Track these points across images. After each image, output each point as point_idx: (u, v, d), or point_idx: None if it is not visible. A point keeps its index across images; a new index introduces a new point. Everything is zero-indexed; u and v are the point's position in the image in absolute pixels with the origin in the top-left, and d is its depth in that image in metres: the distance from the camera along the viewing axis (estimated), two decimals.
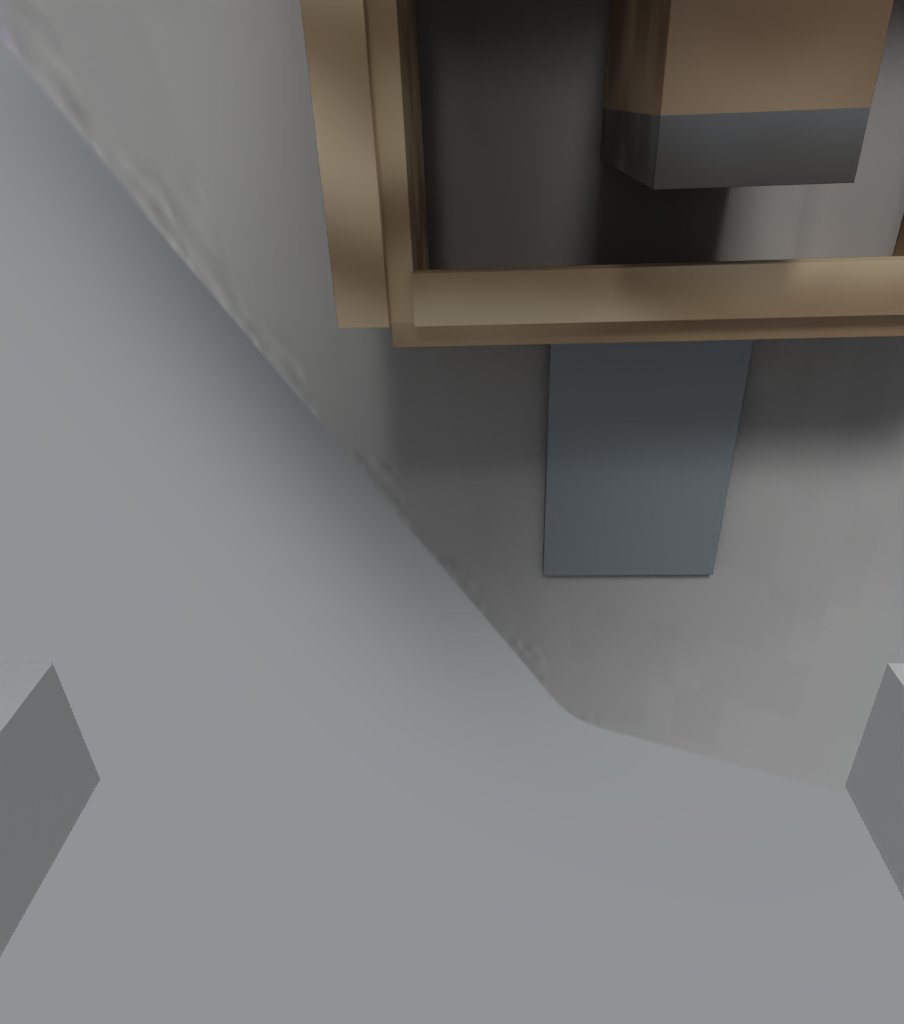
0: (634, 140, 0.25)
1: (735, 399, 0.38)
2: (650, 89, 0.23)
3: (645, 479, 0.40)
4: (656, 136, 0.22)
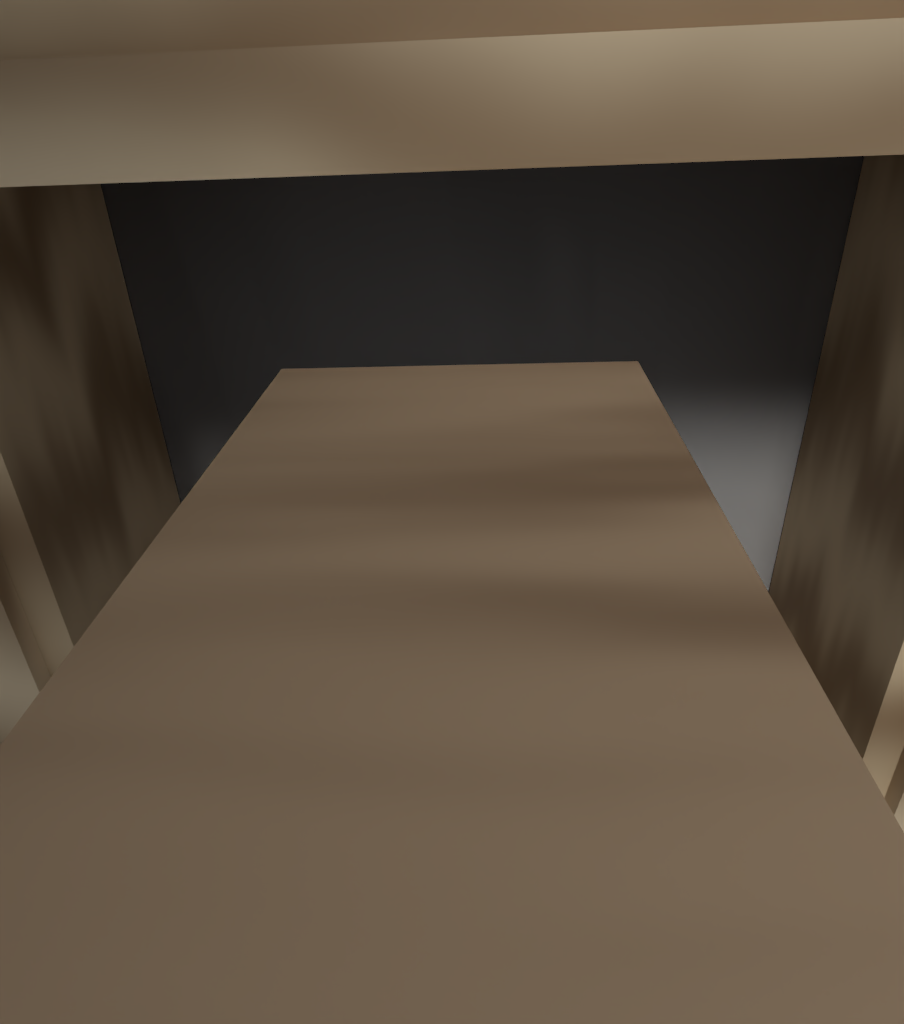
0: None
1: None
2: None
3: None
4: None
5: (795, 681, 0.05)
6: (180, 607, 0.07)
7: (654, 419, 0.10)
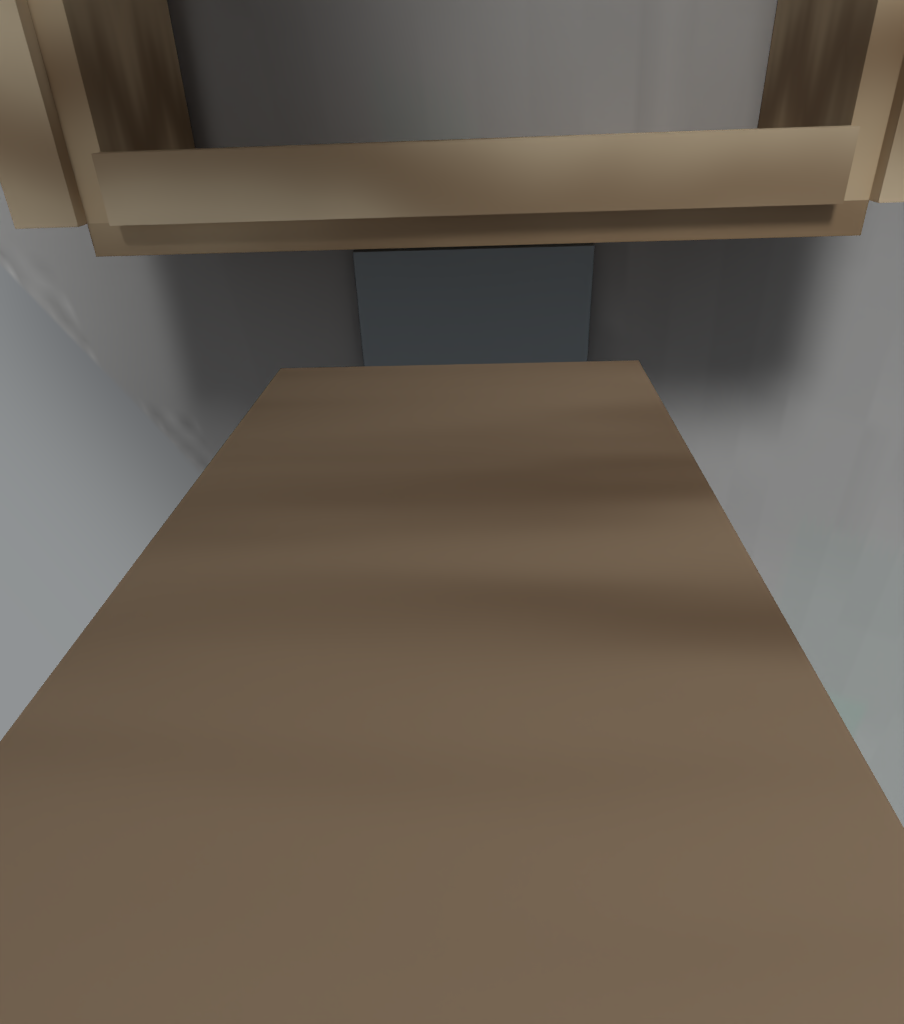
0: None
1: (580, 340, 0.32)
2: None
3: None
4: None
5: (797, 682, 0.05)
6: (178, 607, 0.07)
7: (655, 418, 0.10)
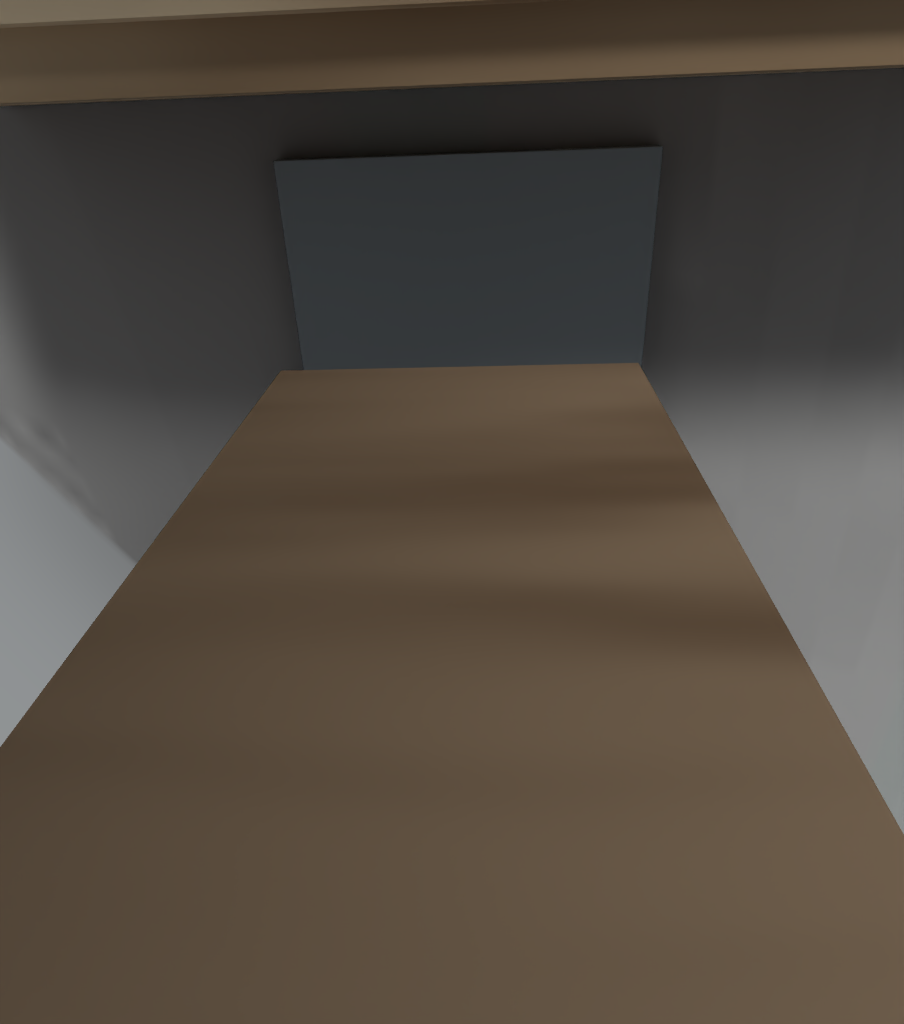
0: None
1: (634, 305, 0.20)
2: None
3: None
4: None
5: (797, 687, 0.05)
6: (178, 612, 0.07)
7: (655, 421, 0.10)
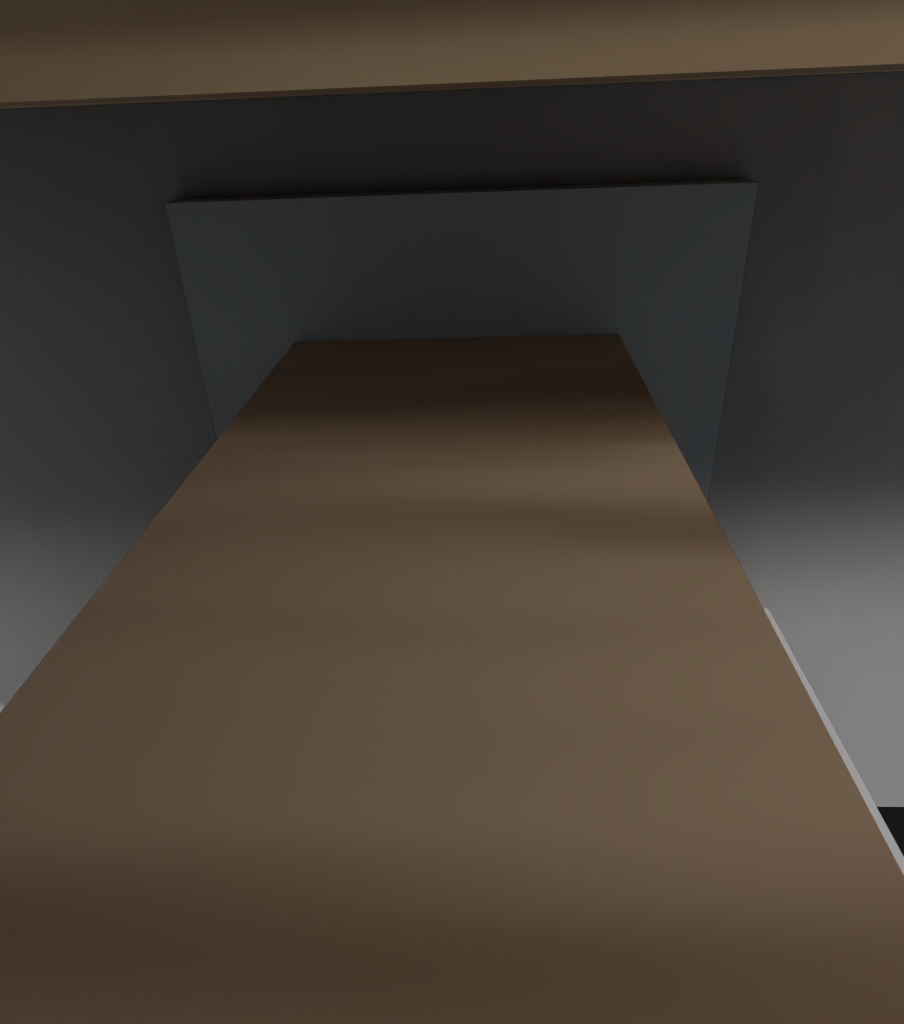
0: None
1: (703, 409, 0.14)
2: None
3: None
4: None
5: (724, 570, 0.07)
6: (216, 522, 0.08)
7: (628, 380, 0.11)
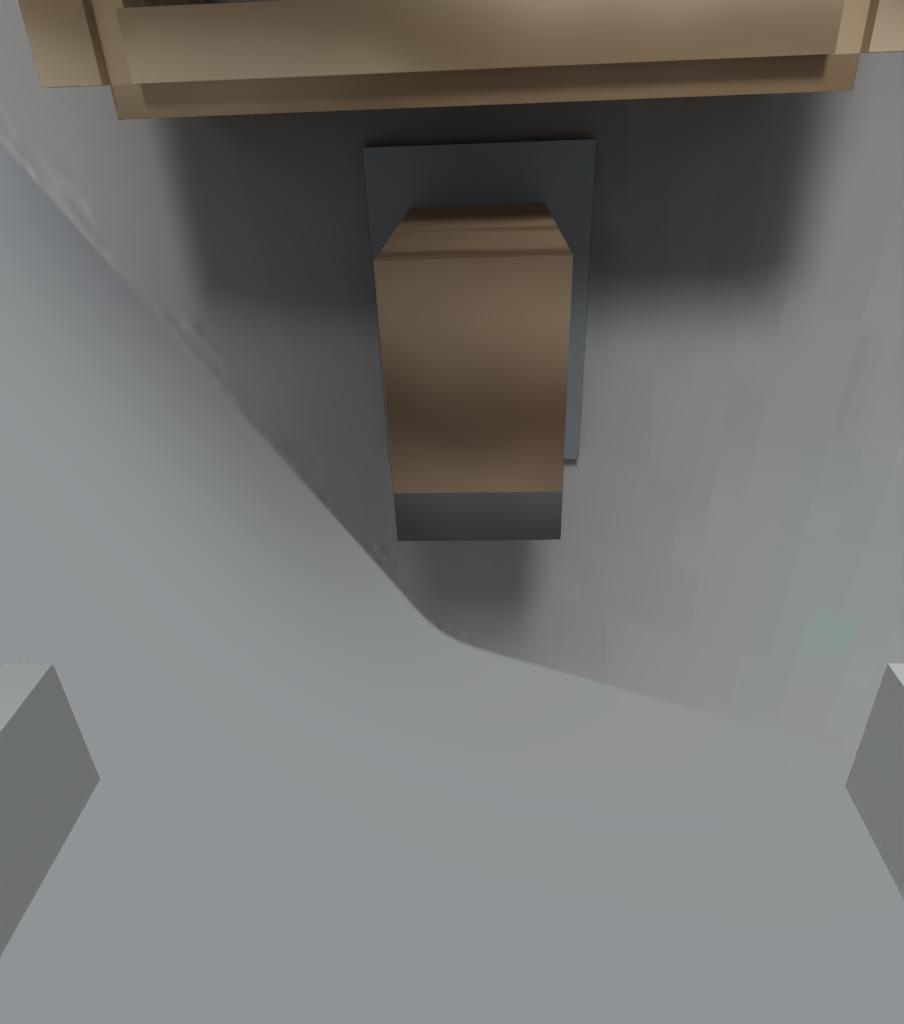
0: None
1: (582, 238, 0.33)
2: None
3: None
4: (395, 502, 0.26)
5: (555, 231, 0.25)
6: (412, 232, 0.27)
7: (543, 211, 0.30)
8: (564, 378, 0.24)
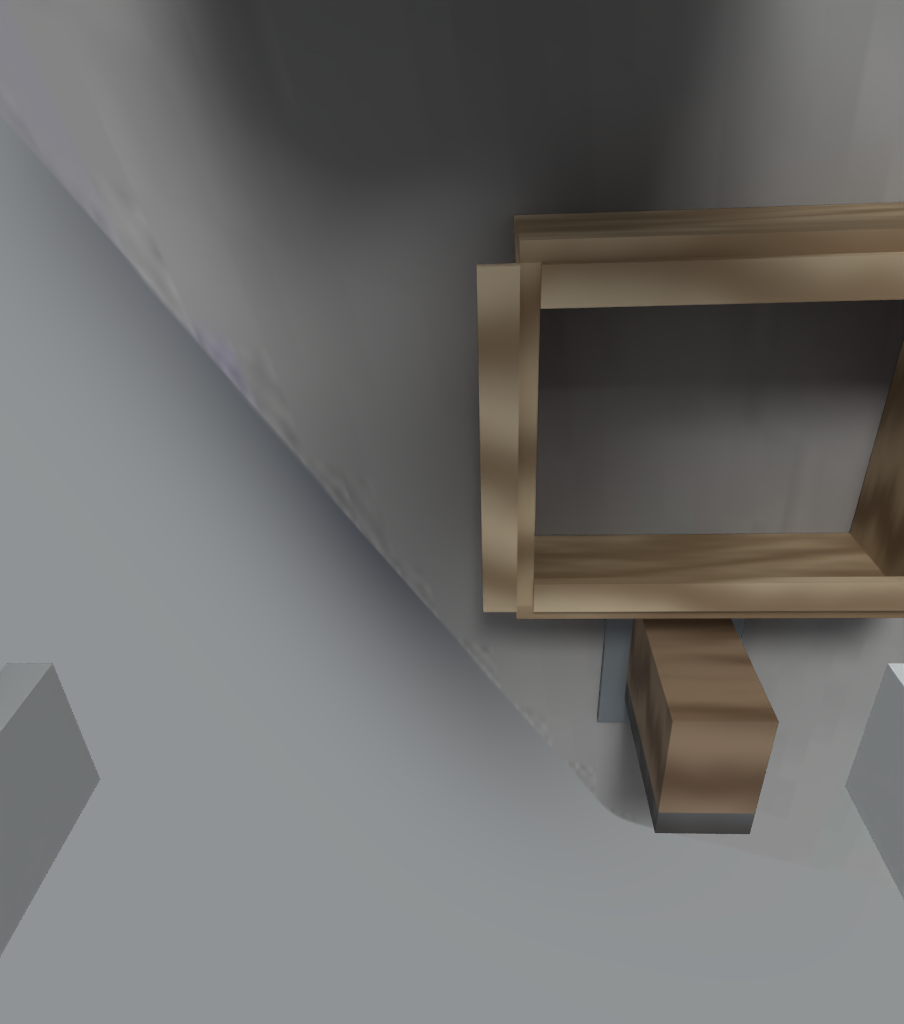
0: (645, 772, 0.50)
1: None
2: (653, 781, 0.47)
3: None
4: (656, 814, 0.46)
5: (751, 668, 0.45)
6: (665, 658, 0.47)
7: (727, 618, 0.50)
8: (765, 768, 0.44)
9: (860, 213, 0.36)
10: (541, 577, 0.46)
